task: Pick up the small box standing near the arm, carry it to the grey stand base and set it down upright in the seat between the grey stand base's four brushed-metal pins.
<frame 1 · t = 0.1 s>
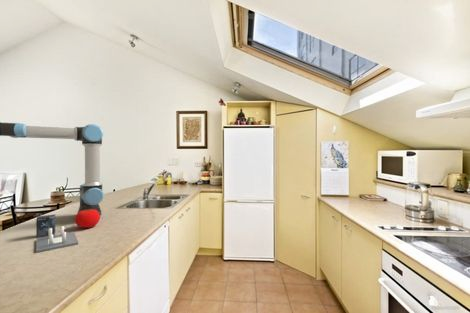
tomato: (87, 227, 144), on the counter
box: (46, 235, 130), on the counter
grey stand base: (57, 242, 119), on the counter
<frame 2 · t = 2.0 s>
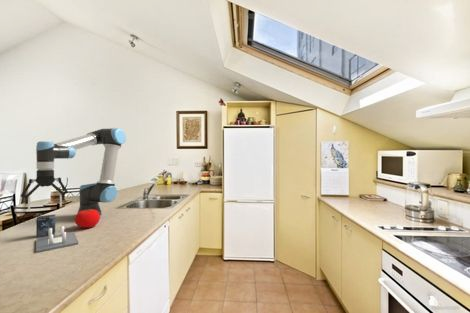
hand: (45, 208, 129), 15 cm above the counter, fingers open, 13 cm apart
nothing on the counter moved.
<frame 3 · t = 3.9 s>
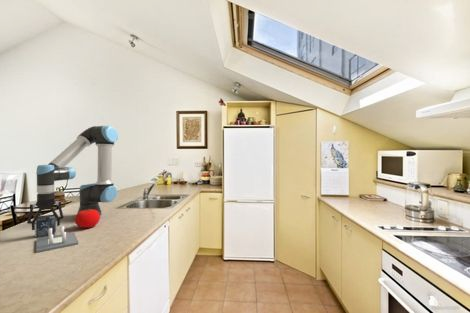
hand: (46, 233, 130), 1 cm above the counter, fingers closed on box, 8 cm apart
box: (46, 235, 130), on the counter, touching gripper
everything else where it was.
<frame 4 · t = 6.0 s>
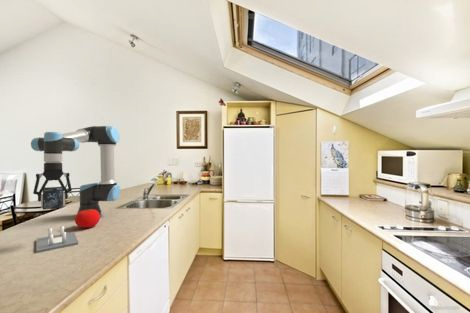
hand: (53, 206, 120), 18 cm above the counter, fingers closed on box, 8 cm apart
box: (53, 208, 120), point 17 cm above the counter, touching gripper
everything else where it was.
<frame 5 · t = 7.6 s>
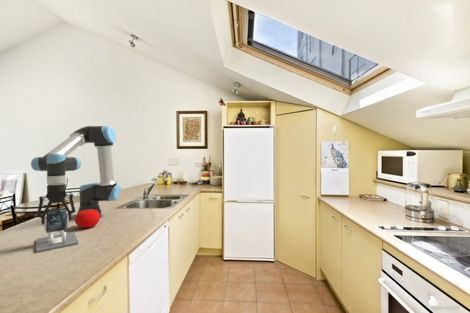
hand: (56, 228, 119), 7 cm above the counter, fingers closed on box, 8 cm apart
box: (56, 230, 119), point 6 cm above the counter, touching gripper
everything else where it was.
when the fingers open (4 cm above the counter, at t = 8.6 s): box drops 2 cm, resting on grey stand base.
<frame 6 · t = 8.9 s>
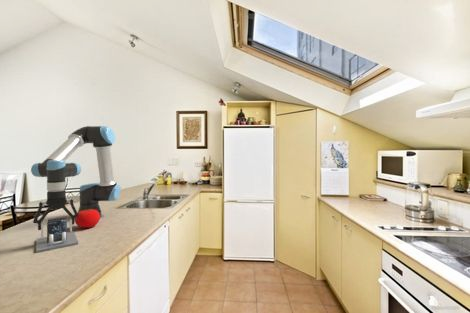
hand: (56, 233, 119), 4 cm above the counter, fingers open, 11 cm apart
box: (57, 240, 119), point 1 cm above the counter, touching grey stand base
everything else where it was.
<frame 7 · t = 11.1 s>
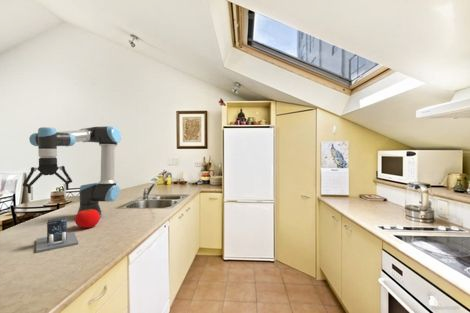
hand: (49, 197, 123), 22 cm above the counter, fingers open, 13 cm apart
nothing on the counter moved.
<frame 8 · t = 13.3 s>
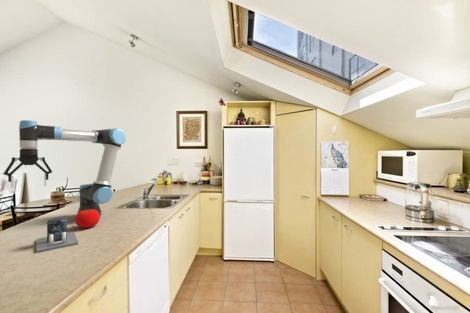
hand: (29, 186, 130), 27 cm above the counter, fingers open, 13 cm apart
nothing on the counter moved.
at the end: box 0.1 cm off-centre on the grey stand base, point 0.9 cm above the grey stand base's base; box tilted 0°; the gripper is holding nothing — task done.
